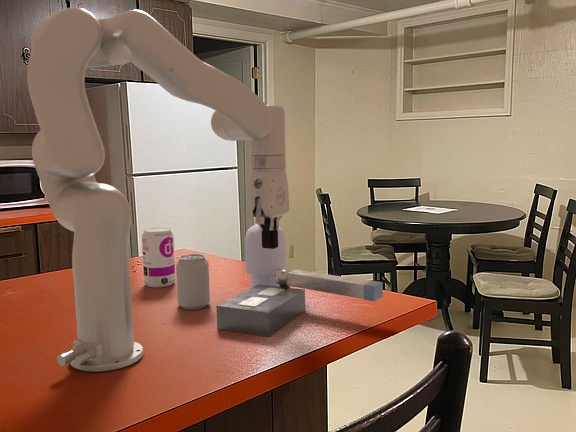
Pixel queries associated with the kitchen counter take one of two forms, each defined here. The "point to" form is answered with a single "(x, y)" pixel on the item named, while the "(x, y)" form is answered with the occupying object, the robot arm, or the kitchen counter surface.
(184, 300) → the can
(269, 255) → the soap bottle
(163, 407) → the kitchen counter surface
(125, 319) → the robot arm
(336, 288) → the bar
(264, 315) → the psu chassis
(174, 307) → the kitchen counter surface
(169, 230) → the supplement can
